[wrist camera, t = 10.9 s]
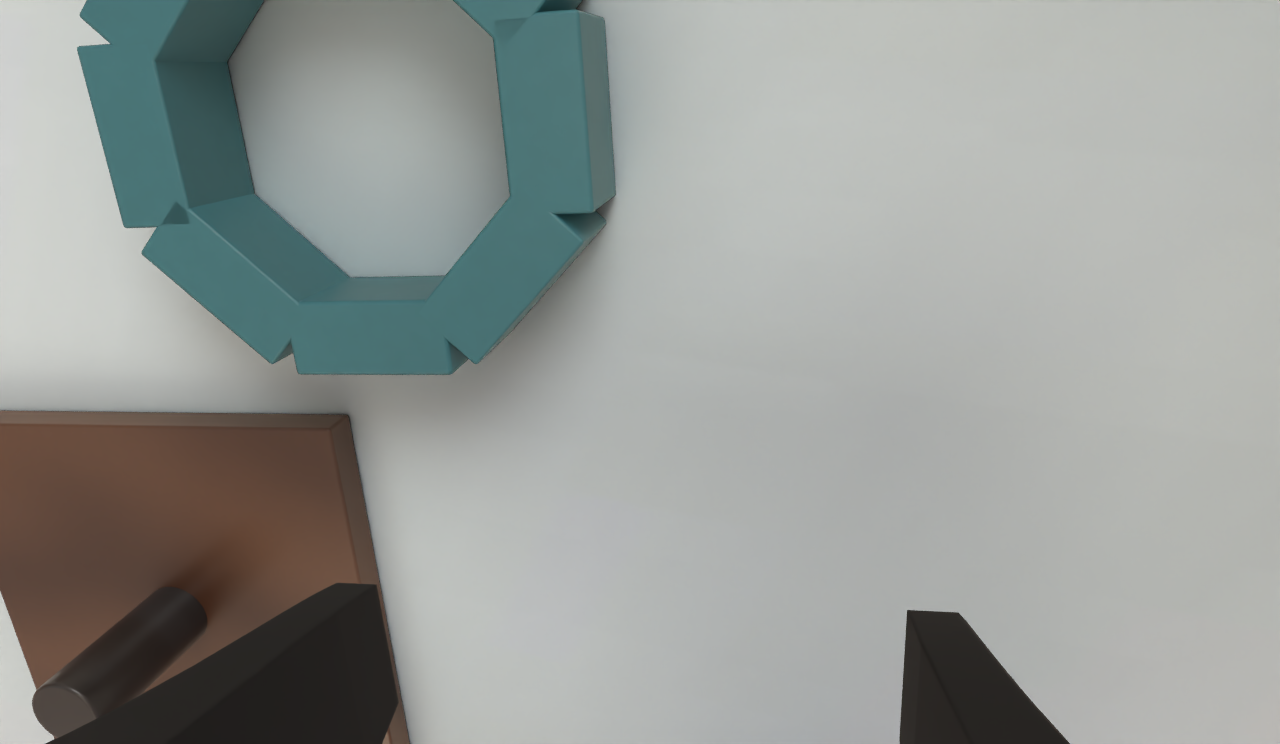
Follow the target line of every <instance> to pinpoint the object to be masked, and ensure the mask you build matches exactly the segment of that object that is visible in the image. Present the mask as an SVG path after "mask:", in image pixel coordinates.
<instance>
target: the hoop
mask: <svg viewBox="0 0 1280 744" xmlns="http://www.w3.org/2000/svg"><path fill="white" fill-rule="evenodd" d="M263 1H264V0H87V1H86V3H85V5H84V7H83V9H82V11H81V13H80V17H81V18H82V19H83V20H84V21H85V22H86V23H88V24H89V25H90V26H91V27H92V28H93V29H94V30H96V31H97V32H98V33H99V34H100V35H101V36H102V37H104V38H105V39H106V40H107V41H108V42H109V43H110V44H102V45H89V46H79V47H77V51H78V54H79V58H80V62H81V66H82V70H83V73H84V77H85V81H86V85H87V89H88V92H89V96H90V100H91V104H92V108H93V111H94V115H95V119H96V123H97V127H98V130H99V134H100V138H101V142H102V146H103V149H104V153H105V157H106V161H107V165H108V168H109V172H110V176H111V180H112V184H113V187H114V191H115V195H116V199H117V203H118V206H119V210H120V214H121V218H122V222H123V225H124V227H125V228H145V227H157V228H156V230H155V231H154V233H153V234H152V236H151V238H150V239H149V241H148V242H147V244H146V246H145V247H144V249H143V251H142V255H143V256H145V257H146V258H147V259H148V260H149V261H150V262H152V263H153V264H154V265H155V266H156V267H157V268H159V269H160V270H161V271H162V272H163V273H165V274H166V275H167V276H168V277H169V278H170V279H172V280H173V281H174V282H175V283H176V284H178V285H179V286H180V287H181V288H182V289H183V290H185V291H186V292H187V293H188V294H189V295H190V296H192V297H193V298H194V299H195V300H196V301H198V302H199V303H200V304H201V305H202V306H203V307H205V308H206V309H207V310H208V311H209V312H211V313H212V314H213V315H214V316H215V317H216V318H218V319H219V320H220V321H221V322H222V323H223V324H225V325H226V326H227V327H228V328H229V329H231V330H232V331H233V332H234V333H235V334H236V335H238V336H239V337H240V338H241V339H242V340H243V341H245V342H246V343H247V344H248V345H249V346H251V347H252V348H253V349H254V350H255V351H256V352H258V353H259V354H260V355H261V356H262V357H264V358H265V359H266V360H267V361H268V362H269V363H271V364H274V363H276V362H278V361H279V360H281V359H283V358H285V357H286V356H288V355H290V354H292V353H294V358H295V363H296V368H297V372H298V373H299V374H346V375H450V374H453V373H454V372H455V371H456V370H457V369H458V368H459V367H460V366H461V365H462V364H464V363H465V362H466V361H467V360H468V359H470V360H471V361H472V362H473V363H474V364H478V363H479V362H480V361H481V360H482V359H483V358H484V357H485V356H486V355H487V354H488V353H489V352H491V351H492V350H493V349H494V348H495V347H496V346H497V345H498V344H499V343H500V342H501V341H502V340H503V339H504V338H505V337H506V336H507V335H508V334H509V333H510V332H511V331H512V330H513V329H514V328H515V327H516V326H517V324H518V323H519V322H520V321H521V320H522V319H523V318H524V317H525V315H526V314H527V313H528V312H529V311H530V310H531V309H532V308H533V306H534V305H535V304H536V303H537V302H538V301H539V300H540V298H541V297H542V296H543V295H544V294H545V293H546V292H547V291H548V289H549V288H550V287H551V286H552V285H553V284H554V283H555V281H556V280H557V279H558V278H559V277H560V276H561V275H562V274H563V272H564V271H565V270H566V269H567V268H568V267H569V266H570V264H571V263H572V262H573V261H574V260H575V259H576V258H577V257H578V255H579V254H580V253H581V252H582V251H583V250H584V249H585V247H586V246H587V245H588V244H589V243H590V242H591V241H592V240H593V238H594V237H595V236H596V235H597V234H598V233H599V232H600V230H601V229H602V228H603V227H604V226H605V225H606V220H605V219H604V218H603V217H601V216H600V215H599V214H598V213H597V212H596V211H595V210H597V209H598V208H599V207H601V206H602V205H603V204H605V203H606V202H607V201H609V200H610V199H611V198H613V197H614V196H615V194H616V190H615V174H614V159H613V143H612V128H611V112H610V97H609V81H608V66H607V51H606V35H605V21H604V19H603V18H602V17H600V16H596V15H593V14H590V13H586V12H583V11H579V10H576V8H577V7H578V5H579V4H580V3H581V1H582V0H453V1H454V2H455V3H456V4H457V5H459V6H460V7H461V8H462V9H463V10H464V11H465V12H466V13H467V14H468V15H469V16H470V17H471V18H472V19H473V20H474V21H476V22H477V23H478V24H479V25H480V26H481V27H482V28H483V29H484V30H485V31H486V32H487V33H488V34H489V35H490V36H491V37H492V38H493V42H494V52H495V61H496V71H497V80H498V89H499V99H500V108H501V117H502V127H503V136H504V146H505V155H506V164H507V174H508V183H509V192H510V197H509V198H508V199H507V201H506V202H505V203H504V204H503V205H502V207H501V208H500V209H499V210H498V212H497V213H496V214H495V215H494V217H493V218H492V219H491V220H490V221H489V223H488V224H487V225H486V226H485V228H484V229H483V230H482V231H481V232H480V234H479V235H478V236H477V237H476V239H475V240H474V241H473V242H472V244H471V245H470V246H469V247H468V248H467V250H466V251H465V252H464V253H463V255H462V256H461V257H460V258H459V260H458V261H457V262H456V263H455V264H454V266H453V267H452V268H451V269H450V271H449V272H448V273H447V274H446V276H407V277H354V278H350V277H349V276H348V275H346V274H345V273H344V272H343V271H342V270H341V269H340V268H338V267H337V266H336V265H335V264H334V263H333V262H332V261H330V260H329V259H328V258H327V257H326V256H325V255H324V254H322V253H321V252H320V251H319V250H318V249H317V248H316V247H315V246H313V245H312V244H311V243H310V242H309V241H308V240H307V239H305V238H304V237H303V236H302V235H301V234H300V233H299V232H297V231H296V230H295V229H294V228H293V227H292V226H291V225H289V224H288V223H287V222H286V221H285V220H284V219H283V218H281V217H280V216H279V215H278V214H277V213H276V212H275V211H273V210H272V209H271V208H270V207H269V206H268V205H267V204H265V203H264V202H263V201H262V200H261V199H260V198H259V197H257V196H256V195H255V194H254V189H253V184H252V179H251V175H250V170H249V165H248V160H247V155H246V151H245V146H244V141H243V136H242V131H241V127H240V122H239V117H238V112H237V107H236V103H235V98H234V93H233V88H232V83H231V79H230V74H229V69H228V64H227V61H228V60H229V58H230V56H231V55H232V53H233V51H234V50H235V48H236V46H237V45H238V43H239V41H240V40H241V38H242V36H243V35H244V33H245V31H246V30H247V28H248V26H249V25H250V23H251V21H252V20H253V18H254V16H255V15H256V13H257V11H258V10H259V8H260V6H261V5H262V3H263Z"/></svg>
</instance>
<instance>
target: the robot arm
mask: <svg viewBox="0 0 1280 744" xmlns="http://www.w3.org/2000/svg"><path fill="white" fill-rule="evenodd" d="M398 703H399V701H398V695H397V690H396V685H395V679H394V674H393V669H392V663H391V658H390V653H389V648H388V642H387V637H386V632H385V626H384V621H383V616H382V610H381V605H380V600H379V594H378V589H377V584H356V583H335V584H333V585H331V586H329V587H327V588H325V589H323V590H321V591H319V592H317V593H315V594H314V595H312V596H310V597H308V598H306V599H305V600H303V601H301V602H299V603H298V604H296V605H294V606H293V607H291V608H289V609H287V610H286V611H284V612H282V613H281V614H279V615H277V616H276V617H274V618H272V619H271V620H269V621H267V622H266V623H264V624H262V625H261V626H259V627H257V628H256V629H254V630H252V631H251V632H249V633H247V634H246V635H244V636H242V637H241V638H239V639H237V640H235V641H234V642H232V643H230V644H229V645H227V646H225V647H224V648H222V649H220V650H219V651H217V652H215V653H214V654H212V655H210V656H209V657H207V658H205V659H204V660H202V661H200V662H199V663H197V664H195V665H193V666H192V667H190V668H188V669H186V670H184V671H183V672H181V673H179V674H177V675H175V676H174V677H172V678H170V679H168V680H166V681H165V682H163V683H161V684H159V685H157V686H156V687H154V688H152V689H150V690H148V691H147V692H145V693H143V694H141V695H139V696H138V697H136V698H134V699H132V700H130V701H129V702H127V703H125V704H123V705H122V706H120V707H118V708H116V709H114V710H112V711H110V712H108V713H107V714H105V715H103V716H101V717H99V718H97V719H95V720H93V721H91V722H89V723H87V724H85V725H83V726H81V727H79V728H77V729H75V730H73V731H71V732H69V733H67V734H65V735H63V736H61V737H59V738H56V739H54V740H52V741H50V742H48V743H46V744H382V743H383V741H384V738H385V736H386V733H387V731H388V728H389V726H390V723H391V721H392V718H393V716H394V713H395V711H396V708H397V706H398ZM900 744H1070V743H1069V742H1068V741H1067V740H1066V739H1065V738H1064V737H1063V735H1062V734H1061V733H1060V732H1059V731H1058V730H1057V729H1056V728H1055V727H1054V725H1053V724H1052V723H1051V722H1050V721H1049V720H1048V719H1047V718H1046V717H1045V715H1044V714H1043V713H1042V712H1041V711H1040V710H1039V709H1038V708H1037V707H1036V705H1035V704H1034V703H1033V702H1032V701H1031V700H1030V699H1029V697H1028V696H1027V695H1026V694H1025V693H1024V692H1023V690H1022V689H1021V688H1020V687H1019V686H1018V685H1017V683H1016V682H1015V681H1014V680H1013V679H1012V677H1011V676H1010V675H1009V674H1008V673H1007V671H1006V670H1005V669H1004V668H1003V666H1002V665H1001V664H1000V663H999V662H998V660H997V659H996V658H995V657H994V655H993V654H992V653H991V652H990V650H989V649H988V648H987V647H986V645H985V644H984V643H983V642H982V640H981V639H980V638H979V637H978V635H977V634H976V633H975V631H974V630H973V629H972V628H971V626H970V625H969V624H968V623H967V621H966V620H965V619H964V618H963V617H962V616H961V615H960V614H959V613H955V612H934V611H914V610H907V623H906V640H905V657H904V673H903V690H902V707H901V724H900Z"/></svg>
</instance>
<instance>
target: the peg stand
mask: <svg viewBox="0 0 1280 744" xmlns="http://www.w3.org/2000/svg"><path fill="white" fill-rule="evenodd" d="M335 583H356V584H377V589H378V594H379V600H380V605H381V610H382V616H383V621H384V626H385V632H386V637H387V642H388V648H389V653H390V658H391V663H392V669H393V674H394V679H395V685H396V690H397V695H398V701H399V703H398V706H397V708H396V711H395V713H394V716H393V718H392V721H391V723H390V726H389V728H388V731H387V733H386V736H385V738H384V741H383V743H382V744H410V743H409V737H408V732H407V727H406V721H405V716H404V711H403V705H402V700H401V694H400V689H399V684H398V678H397V673H396V668H395V662H394V657H393V652H392V646H391V641H390V636H389V630H388V625H387V620H386V614H385V609H384V604H383V598H382V593H381V588H380V582H379V577H378V572H377V566H376V561H375V555H374V550H373V545H372V539H371V534H370V529H369V523H368V518H367V513H366V507H365V502H364V497H363V491H362V486H361V481H360V475H359V470H358V465H357V459H356V454H355V449H354V443H353V438H352V432H351V427H350V422H349V417H348V415H328V414H242V413H157V412H72V411H0V591H1V594H2V597H3V599H4V602H5V605H6V607H7V610H8V613H9V616H10V618H11V621H12V624H13V627H14V629H15V632H16V635H17V638H18V640H19V643H20V646H21V648H22V651H23V654H24V657H25V659H26V662H27V665H28V668H29V670H30V673H31V676H32V678H33V681H34V684H35V687H36V689H37V690H36V692H35V694H34V696H33V700H32V706H33V711H34V713H35V716H36V718H37V719H38V721H39V722H40V724H41V725H42V726H43V727H44V728H45V729H46V730H47V731H48V732H49V733H51V734H52V735H53V736H54V739H56V738H59V737H61V736H63V735H65V734H67V733H69V732H71V731H73V730H75V729H77V728H79V727H81V726H83V725H85V724H87V723H89V722H91V721H93V720H95V719H97V718H99V717H101V716H103V715H105V714H107V713H108V712H110V711H112V710H114V709H116V708H118V707H120V706H122V705H123V704H125V703H127V702H129V701H130V700H132V699H134V698H136V697H138V696H139V695H141V694H143V693H145V692H147V691H148V690H150V689H152V688H154V687H156V686H157V685H159V684H161V683H163V682H165V681H166V680H168V679H170V678H172V677H174V676H175V675H177V674H179V673H181V672H183V671H184V670H186V669H188V668H190V667H192V666H193V665H195V664H197V663H199V662H200V661H202V660H204V659H205V658H207V657H209V656H210V655H212V654H214V653H215V652H217V651H219V650H220V649H222V648H224V647H225V646H227V645H229V644H230V643H232V642H234V641H235V640H237V639H239V638H241V637H242V636H244V635H246V634H247V633H249V632H251V631H252V630H254V629H256V628H257V627H259V626H261V625H262V624H264V623H266V622H267V621H269V620H271V619H272V618H274V617H276V616H277V615H279V614H281V613H282V612H284V611H286V610H287V609H289V608H291V607H293V606H294V605H296V604H298V603H299V602H301V601H303V600H305V599H306V598H308V597H310V596H312V595H314V594H315V593H317V592H319V591H321V590H323V589H325V588H327V587H329V586H331V585H333V584H335Z"/></svg>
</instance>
